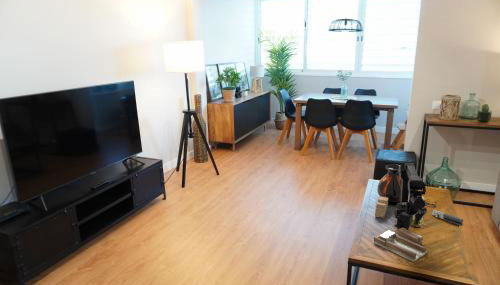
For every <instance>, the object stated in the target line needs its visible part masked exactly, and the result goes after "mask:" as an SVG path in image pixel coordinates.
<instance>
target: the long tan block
mask: <svg viewBox="0 0 500 285" xmlns="http://www.w3.org/2000/svg"><path fill="white" fill-rule="evenodd" d="M397 234H399V236H400V237H403V238H405V239H407V240H410V241H412V242H414V243H416V244H419V245H421V246H422V244H423V238H424V237H423V236H422V235H420V234H419V233H415V232H414V231H411V230H410V229H408V230H406V228H398V229H397Z"/></svg>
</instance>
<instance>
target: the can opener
mask: <svg viewBox="0 0 500 285" xmlns="http://www.w3.org/2000/svg"><path fill="white" fill-rule="evenodd" d="M431 214H432V216H434V217H435V218H440V219H442V220H443V221H444V220H445V221H444V222H447V221H448V222H447V223H450V222H451V224H452V223H455V224H457V225H456V226H459V227H463V225H464V223H463V222H464V219H463V218H460V217H457V216H453V215H451V214H448V213H445V212H442V211H439V210H436V209H433V210H432V212H431ZM455 224H454V225H455Z"/></svg>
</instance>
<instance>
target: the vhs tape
mask: <svg viewBox="0 0 500 285" xmlns="http://www.w3.org/2000/svg"><path fill="white" fill-rule="evenodd" d="M423 200H424V199H423ZM424 201H425V207H427V208H433V207H434V208H433V209H436V207H437V204H436V205H434V204H433V205H434V206H433V205H431V204H428V203H427V202H428V201H426V200H424ZM426 204H427V205H426Z"/></svg>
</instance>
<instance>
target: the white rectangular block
mask: <svg viewBox="0 0 500 285" xmlns="http://www.w3.org/2000/svg"><path fill="white" fill-rule="evenodd" d="M386 231H387V232H386ZM386 231H384V232H385V233H384V232H382V233H383V234H382V233H381V234H382V235H380V234H379V235H380V239H382V240H384V241H390V242H391V241H392V240H394V238H395V233H396V232H394V231H392V232H391V230H389V229H388V230H386Z"/></svg>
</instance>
